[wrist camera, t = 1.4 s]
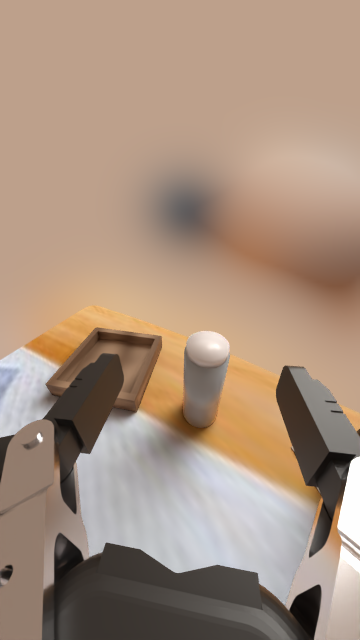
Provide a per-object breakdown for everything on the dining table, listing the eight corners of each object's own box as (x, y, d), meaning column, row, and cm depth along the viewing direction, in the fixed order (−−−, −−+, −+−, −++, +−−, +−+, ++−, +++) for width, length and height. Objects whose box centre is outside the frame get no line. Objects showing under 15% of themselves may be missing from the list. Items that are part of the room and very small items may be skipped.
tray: (52, 395, 30) (45, 384, 29) (99, 337, 42) (95, 327, 40) (136, 411, 28) (134, 400, 27) (162, 346, 39) (161, 336, 38)
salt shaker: (179, 423, 27) (180, 357, 19) (185, 392, 31) (188, 327, 23) (216, 431, 26) (232, 365, 18) (217, 398, 30) (231, 332, 22)
